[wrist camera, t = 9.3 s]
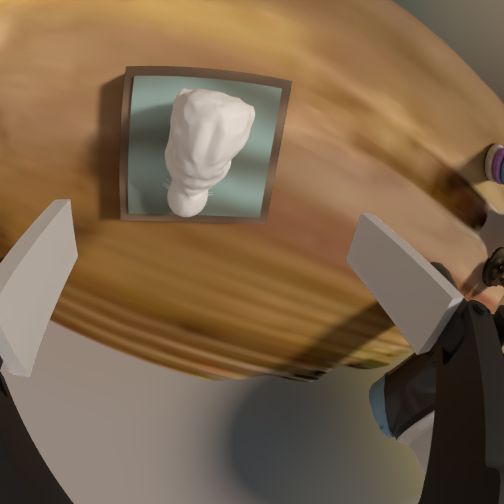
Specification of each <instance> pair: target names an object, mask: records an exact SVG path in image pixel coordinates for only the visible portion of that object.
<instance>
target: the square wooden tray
mask: <svg viewBox="0 0 504 504" xmlns="http://www.w3.org/2000/svg"><path fill="white" fill-rule="evenodd" d="M291 85H292V81H289V80H284V79H279V78H273V77H268V76H262V75H256V74H249V73H242V72H235V71H227V70H217V69H207V68H194V67H174V66H127V67H126V71H125V79H124V89H123V99H122V112H121V128H120V159H119V185H120V216H121V221H174V222H208V223H235V224H258V225H266V221H267V216H268V211H269V205H270V200H271V195H272V189H273V184H274V178H275V173H276V168H277V162H278V157H279V151H280V146H281V140H282V135H283V129H284V124H285V118H286V113H287V107H288V101H289V96H290V90H291ZM183 88H185V89H204V90H210V91H218V92H222V93H225V94H227V95H229V96H232V97H238V98H240V99H241V100H242V101H243V102H245V103H246V104H248V105H251V106H253V107H254V110H255V118H254V121H253V124H252V126H251V129H250V134H249V138H248V140H247V142H246V143H245V145H244V147H243V148H242V149H241V150H240V151H239V153H238V154H237V155H236V156H234V157H233V158H232V159H231V166H230V169H229V170H228V173H227V174H226V176H225V177H224V178H223V179H222V180H221V181H219V182H218V183H217V184H216V185H214V186H212V187H210V188H211V189H208V192H213V193H208V194H214V195H208V198H207V202H206V204H205V206H204V208H203V209H202V210H201V211H200V212H199V213H198V214H196V215H194V216H192V217H181V216H179V215H177V214H175V213H174V212H173V211H172V210H171V208H170V207H169V204H168V200H167V194H168V189H166V188H167V187H165V186H168V185H170V184H171V183H169V182H168V181H167V180H170V182H172V179H171V178H172V177H171V175H170V173H169V171H168V169H167V167H166V161H165V149H166V147H167V143H168V140H169V134H170V119H171V114H172V111H173V103H174V100H175V99H176V97H177V95H178V93H179V92H180V90H181V89H183ZM164 183H165V184H164ZM162 184H163V185H162ZM166 184H168V185H166ZM164 185H165V186H164Z"/></svg>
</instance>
